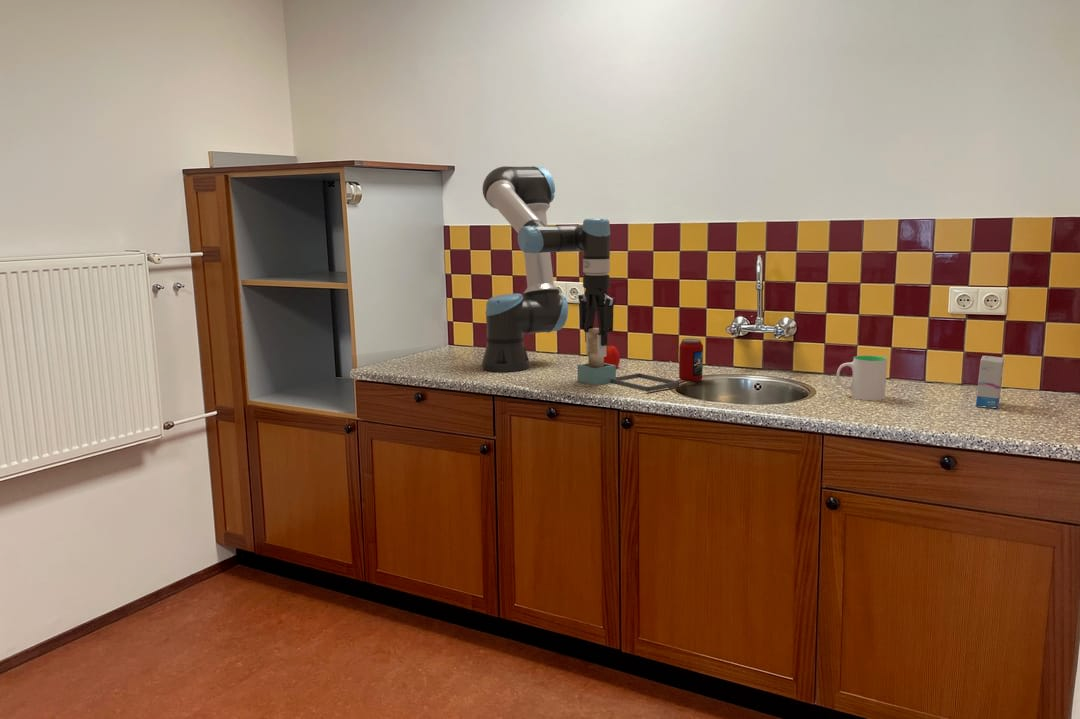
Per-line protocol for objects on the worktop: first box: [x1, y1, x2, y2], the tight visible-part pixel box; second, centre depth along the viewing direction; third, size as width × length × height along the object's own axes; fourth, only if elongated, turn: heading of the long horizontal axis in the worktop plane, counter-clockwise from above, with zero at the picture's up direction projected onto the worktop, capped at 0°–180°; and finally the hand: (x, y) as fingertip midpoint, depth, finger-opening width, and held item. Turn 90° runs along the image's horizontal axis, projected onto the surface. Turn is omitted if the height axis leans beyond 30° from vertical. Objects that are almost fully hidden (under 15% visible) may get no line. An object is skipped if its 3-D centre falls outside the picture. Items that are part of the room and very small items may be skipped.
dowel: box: [587, 327, 604, 368], centre depth 230 cm, size 4×4×14 cm
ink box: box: [975, 355, 1005, 409], centre depth 199 cm, size 9×5×12 cm, turn 148°
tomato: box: [604, 345, 621, 369], centre depth 252 cm, size 9×9×8 cm
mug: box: [836, 355, 888, 401], centre depth 210 cm, size 12×8×10 cm
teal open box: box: [576, 363, 617, 386], centre depth 231 cm, size 8×8×6 cm
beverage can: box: [678, 338, 704, 383], centre depth 233 cm, size 7×7×12 cm
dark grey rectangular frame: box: [611, 372, 680, 395], centre depth 227 cm, size 16×12×2 cm
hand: (596, 355), depth 230 cm, fingers closed on dowel, 4 cm apart
